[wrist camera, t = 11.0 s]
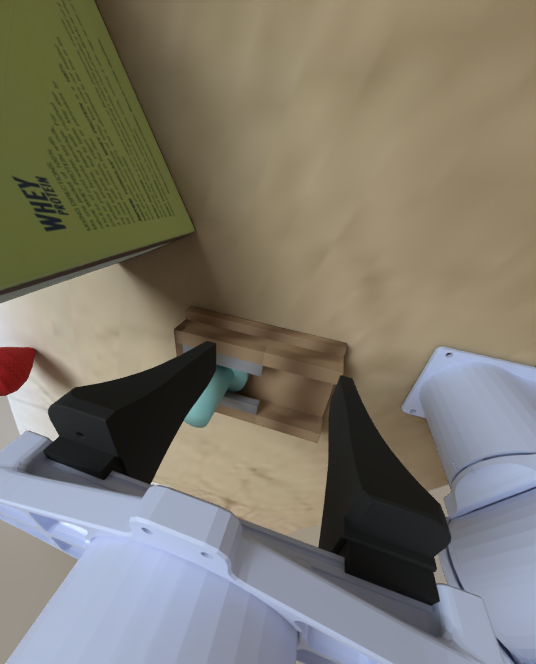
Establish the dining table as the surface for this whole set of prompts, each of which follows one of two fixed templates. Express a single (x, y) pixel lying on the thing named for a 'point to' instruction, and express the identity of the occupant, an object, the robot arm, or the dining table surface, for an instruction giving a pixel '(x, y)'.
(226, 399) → the rail
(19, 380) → the strawberry
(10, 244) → the protein box
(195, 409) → the teal flanged knob
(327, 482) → the robot arm
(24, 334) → the dining table surface
